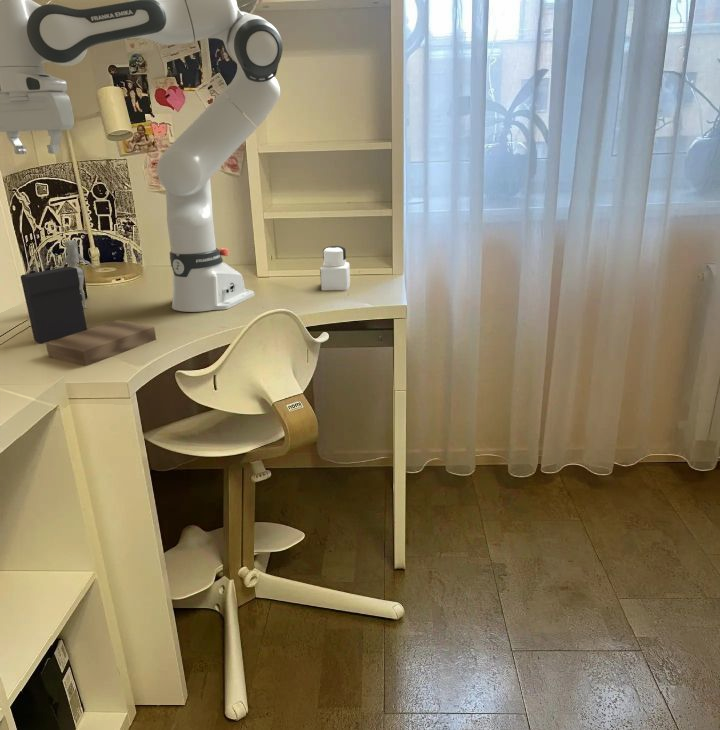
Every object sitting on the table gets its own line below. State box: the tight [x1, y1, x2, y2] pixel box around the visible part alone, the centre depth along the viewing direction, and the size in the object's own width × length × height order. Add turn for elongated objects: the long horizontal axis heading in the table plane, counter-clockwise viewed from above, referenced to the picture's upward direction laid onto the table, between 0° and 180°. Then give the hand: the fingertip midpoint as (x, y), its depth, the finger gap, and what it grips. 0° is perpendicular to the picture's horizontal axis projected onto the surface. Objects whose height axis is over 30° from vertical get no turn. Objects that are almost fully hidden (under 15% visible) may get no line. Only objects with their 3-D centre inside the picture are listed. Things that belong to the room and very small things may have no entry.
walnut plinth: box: [45, 319, 157, 367], centre depth 140 cm, size 18×12×3 cm, turn 149°
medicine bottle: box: [319, 245, 351, 291], centre depth 178 cm, size 7×7×12 cm
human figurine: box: [58, 239, 100, 310], centre depth 167 cm, size 12×4×18 cm, turn 139°
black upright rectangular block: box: [20, 266, 88, 344], centre depth 147 cm, size 11×4×15 cm, turn 138°
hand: (37, 153), depth 141 cm, fingers open, 8 cm apart
